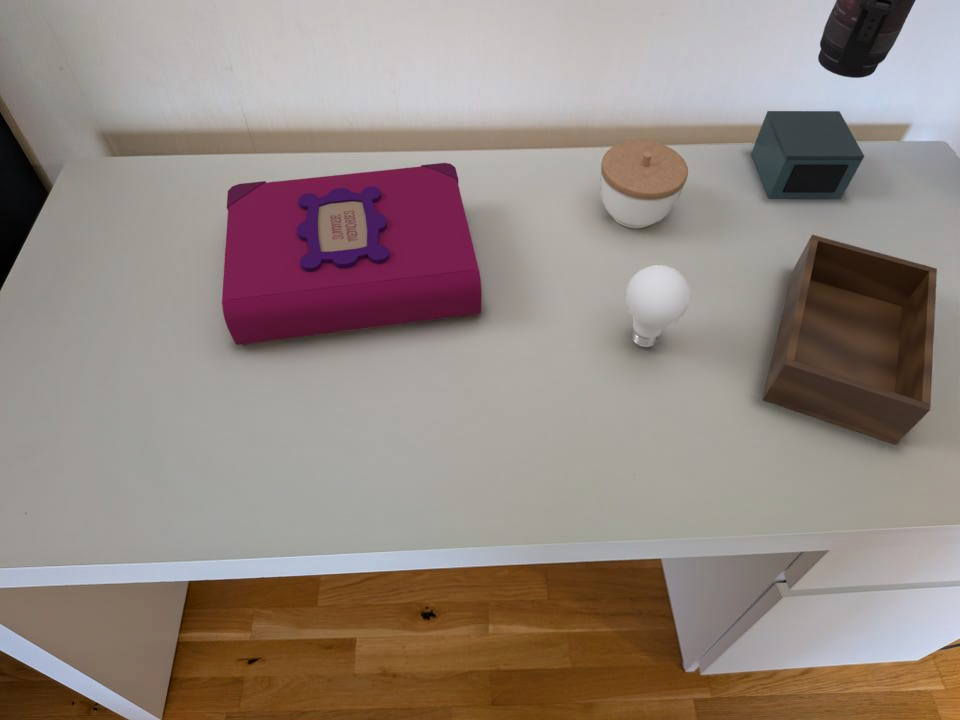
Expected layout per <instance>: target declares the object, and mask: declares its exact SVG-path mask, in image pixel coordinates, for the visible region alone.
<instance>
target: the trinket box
mask: <svg viewBox="0 0 960 720" xmlns="http://www.w3.org/2000/svg"><path fill="white" fill-rule="evenodd" d="M688 176H689V167H688V165H687V162H686V161H685V159H684V158H683V156H682V155H681V154H680V153H678V151H676V150H674V149H673V148H671V147H670V146H667V145H665V144H663V143H659V142H656V141H652V140H644V139H634V140H633V139H632V140H627V141H623V142H620V143H617V144H615V145H613V146H612V147H610V148H609V149H608V150H606V152H605V153H604V154H603V157H602V158H601V164H600V176H599V194H600V200H601V202H602V205H603V207H604V209H605V210H606V211H607V213H608V214H609V216H611V217H612V219H613V220H614V221H615V222H616V223H617V224H619V225H621V226H622V227H626V228H628V229H629V228H630V229H644V228H645V229H646V228H648V227H650V226H651V225H654V224H656V223H658V222H660V221H661V220H663V219H664V218H666V217H667V216H668V215H669V214H670V213H671V212H672V211H673V209H674V207H676V204H677V203H678V200H679V199H680V197H681V194H682V192H683V189H684V186H685V184H686V182H687V179H688Z"/></svg>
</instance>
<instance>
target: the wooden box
mask: <svg viewBox="0 0 960 720" xmlns="http://www.w3.org/2000/svg"><path fill="white" fill-rule="evenodd" d="M937 272H938V268H936V267H933V266H930V265H925V264H922V263H918V262H914V261H911V260H907V259H903V258H900V257H896V256H892V255H889V254H885V253H882V252H878V251H874V250H871V249H867V248H863V247H860V246H856V245H852V244H849V243H845V242H841V241H838V240H834V239H830V238H826V237H823V236H819V235H815V234H811V236H810V238H809V239H808V241H807V243H806V245H805V247H804V248H803V250H802V252H801V254H800V256H799V258H798V260H797V262H796V263H795V266H794V268H793V269H792V271H791V273H790V277H789V281H788V285H787V290H786V295H785V299H784V303H783V307H782V313H781V318H780V322H779V326H778V330H777V334H776V339H775V344H774V348H773V352H772V357H771V361H770V364H769V365H770V366H769V370H768V374H767V380H766V383H765V388H764V392H763V397H762V401H764V402H767V403H769V404H770V403H771V404H773V405H776V406H779V407H782V408H785V409H788V410H791V411H794V412H798V413H799V414H803V415H806V416H809V417H812V418H815V419H818V420H821V421H824V422H827V423H829V424H833V425H836V426H839V427H842V428H845V429H848V430H851V431H854V432H858V433H860V434H863V435H866V436H869V437H872V438H875V439H877V440H881V441H884V442H887V443H890V444H893V445H897V444H899V442H900V441H902V439H903V438H905V436H906V435H907V434H908V433H909V432H910V431H911V430H913V428H914V427H915V426H916V425H917V424H918V423H919V422H920V421H921V420H922V419H923V418H924V417H925V416H926V415H927V414H928V413H929V412H930V411H931V403H932V384H933V383H932V382H933V381H932V380H933V361H934V360H933V359H934V340H935V339H934V338H935V321H936V320H935V319H936V318H935V317H936V299H937V297H936V296H937Z"/></svg>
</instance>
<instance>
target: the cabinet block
mask: <svg viewBox="0 0 960 720" xmlns="http://www.w3.org/2000/svg"><path fill="white" fill-rule="evenodd" d="M759 129H760V130H759V132H758V134H757V137H756V139H755V142H754V145H753V147H752V149H751V153H750V155H751V158H752V160H753V162H754V165H755V168H756V170H757V172H758V173H757V174H758V175H759V177H760V180H761V182H762V185H763V188H764V190H765V192H766V195H767V198H768V199H769V200H770V199H772V200H773V199H774V200H775V199H777V200H779V199H781V200H782V199H784V200H785V199H791V200H792V199H796V200H797V199H809V200H810V199H812V200H813V199H814V200H815V199H816V200H818V199H821V200H822V199H824V200H827V199H831V200H832V199H834V200H836V199H837V200H838V199H839V200H840V199H842V198H843V196H844V194H845V192H846V191H847V189H848V187H849V185H850V184H851V182H852V180H853V178H854V176H855V175H856V172H857V170H858V169H859V167H860V165H861V163H862V161H863V160H864V158H865V155H864V153H863V151H862V149H861V147H860V146H859V143H858V141H857V139H856V138H855V136H854V135H853V132H852V131H851V130H850V128H849V125H848V124H847V122H846V120H845V119H844V117H843V115H842V113H841V111H840V110H767V111H766V114H765V116H764V119H763V121H762V124H761V127H760V128H759Z"/></svg>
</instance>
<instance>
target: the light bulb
mask: <svg viewBox="0 0 960 720" xmlns="http://www.w3.org/2000/svg"><path fill="white" fill-rule="evenodd" d="M690 301H691V289H690V286H689V283H688V281H687V279H686V278H685V276H683V274H682V273H680V272H679V271H678V270H677V269H675V268H673V267H671V266H670V265H669V266H668V265H665V264H653V265H649V266H646V267H644V268H642V269H640V270H639V271H637V272H636V273H635V274H634V275H633V276H632V277H631V279H630V280H629V281H628V284H627V286H626V291H625V306H626V308H627V310H628V312H629V314H630V316H631V317H632V326H633V328H632V330H631V336H630V337H631V340H632V342H633V343H635V344H636V345H637V346H639V347H642V348H650V347H652V346H654V345H656V344H657V343H658V341H659V339H660V338H659V337H660V335H661V334H662V333H663V331H664V329H665V328H667V327H669V326H671V325H674V324H676V323H677V322H679V320H681V318H683V317H684V315H685V314H686V312H687V310H688V308H689V306H690Z"/></svg>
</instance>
